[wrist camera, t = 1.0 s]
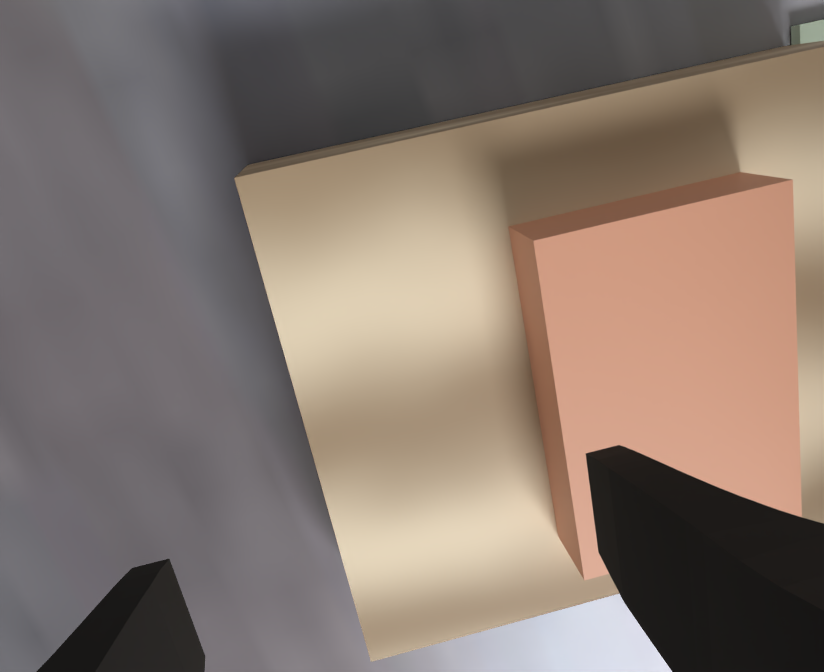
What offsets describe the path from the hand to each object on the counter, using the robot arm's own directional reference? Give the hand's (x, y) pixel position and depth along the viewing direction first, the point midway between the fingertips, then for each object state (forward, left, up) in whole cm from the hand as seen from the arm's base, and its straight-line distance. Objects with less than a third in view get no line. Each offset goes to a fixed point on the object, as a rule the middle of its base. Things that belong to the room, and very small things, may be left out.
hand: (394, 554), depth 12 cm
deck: (-1, -6, -10) cm, 12 cm away
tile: (-1, -7, -6) cm, 10 cm away
